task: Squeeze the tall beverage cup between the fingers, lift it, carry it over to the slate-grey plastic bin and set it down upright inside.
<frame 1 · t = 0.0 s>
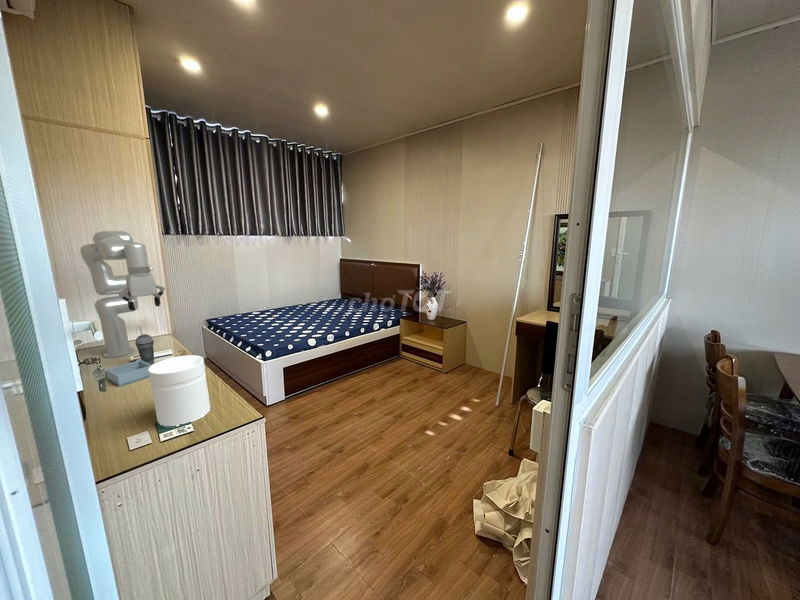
hand: (145, 308, 146), 31 cm above the cabinet, fingers open, 9 cm apart
beverage cup: (148, 364, 161), on the cabinet
canister: (185, 415, 115), on the cabinet
bin: (131, 377, 146), on the cabinet
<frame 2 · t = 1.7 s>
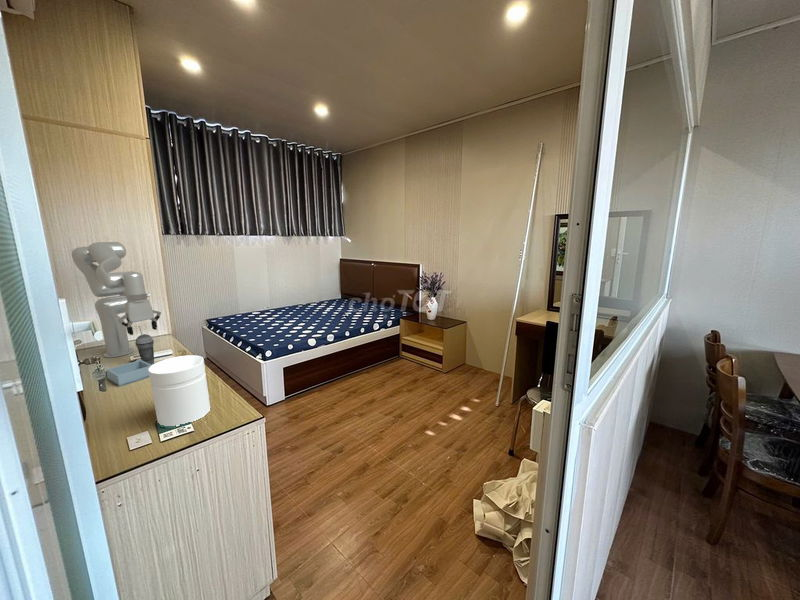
hand: (143, 331, 157), 17 cm above the cabinet, fingers open, 9 cm apart
nothing on the cabinet moved.
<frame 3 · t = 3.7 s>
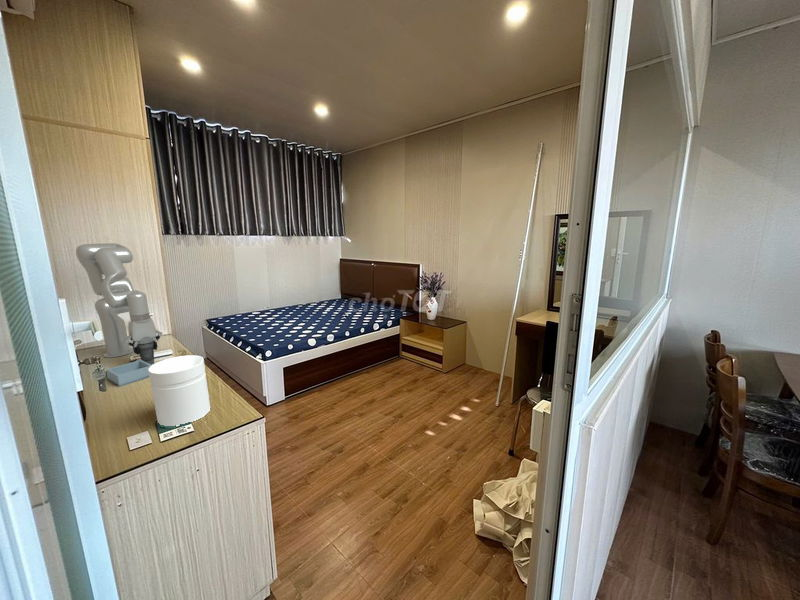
hand: (146, 351, 160), 7 cm above the cabinet, fingers closed on beverage cup, 6 cm apart
beverage cup: (148, 364, 161), on the cabinet, touching gripper
everything else where it was.
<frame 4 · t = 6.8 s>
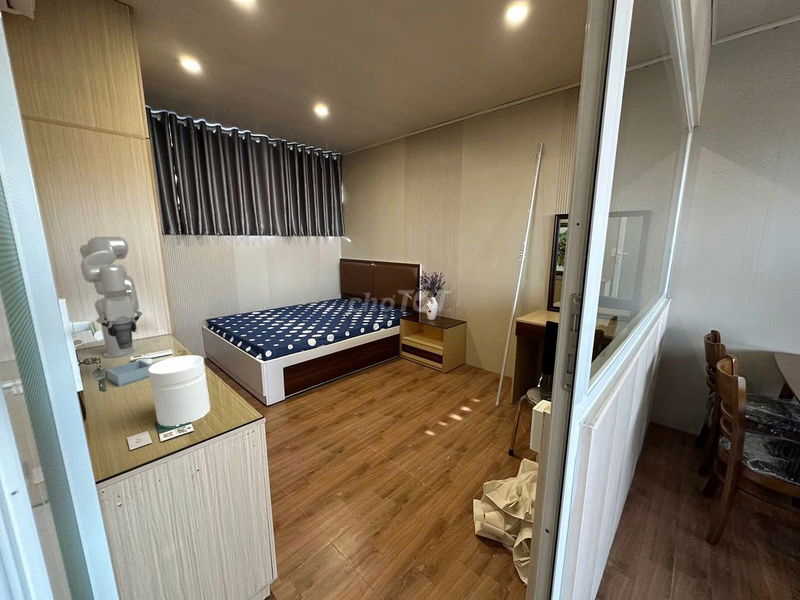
hand: (123, 333, 141), 21 cm above the cabinet, fingers closed on beverage cup, 6 cm apart
beverage cup: (126, 348, 143), point 14 cm above the cabinet, touching gripper
everything else where it was.
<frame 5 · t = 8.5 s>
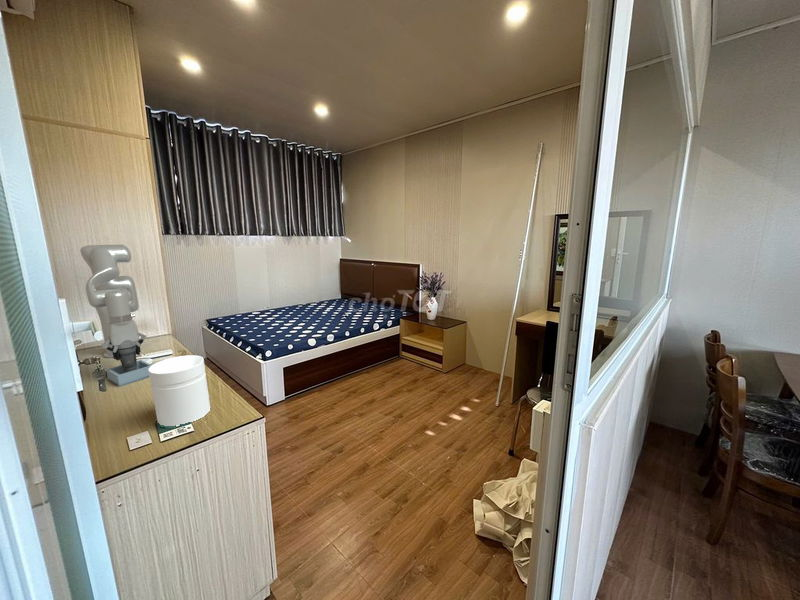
hand: (127, 356, 144), 10 cm above the cabinet, fingers closed on beverage cup, 6 cm apart
beverage cup: (130, 371, 145), point 3 cm above the cabinet, touching gripper
everything else where it was.
when the fingers open (8 cm above the cabinet, at t = 10.0 s): beverage cup stays where it is, resting on bin.
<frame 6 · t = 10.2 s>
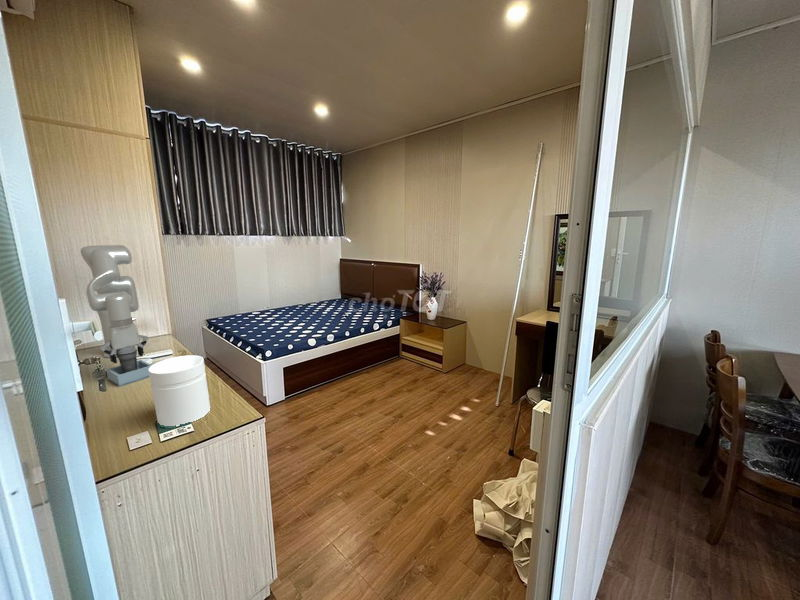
hand: (128, 359, 144), 9 cm above the cabinet, fingers open, 9 cm apart
beverage cup: (131, 376, 146), point 1 cm above the cabinet, touching bin
everything else where it was.
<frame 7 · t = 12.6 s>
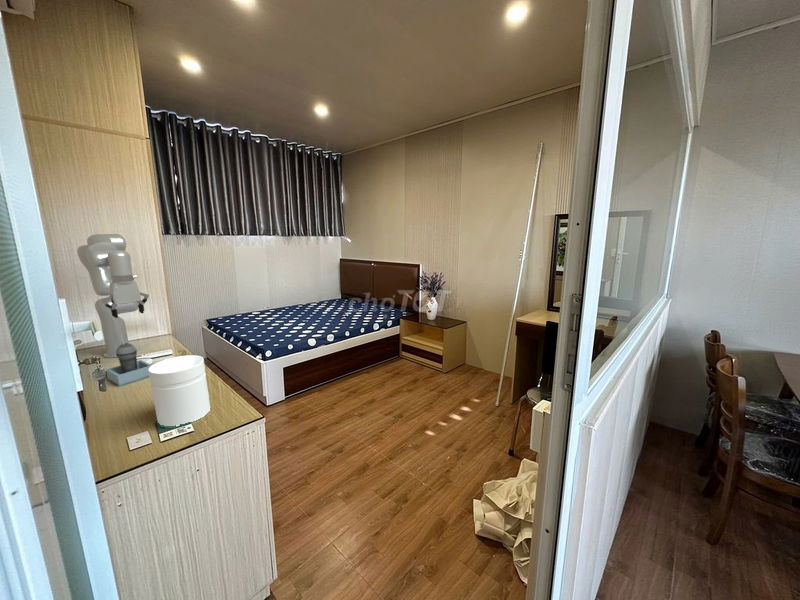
hand: (129, 315, 149), 28 cm above the cabinet, fingers open, 9 cm apart
nothing on the cabinet moved.
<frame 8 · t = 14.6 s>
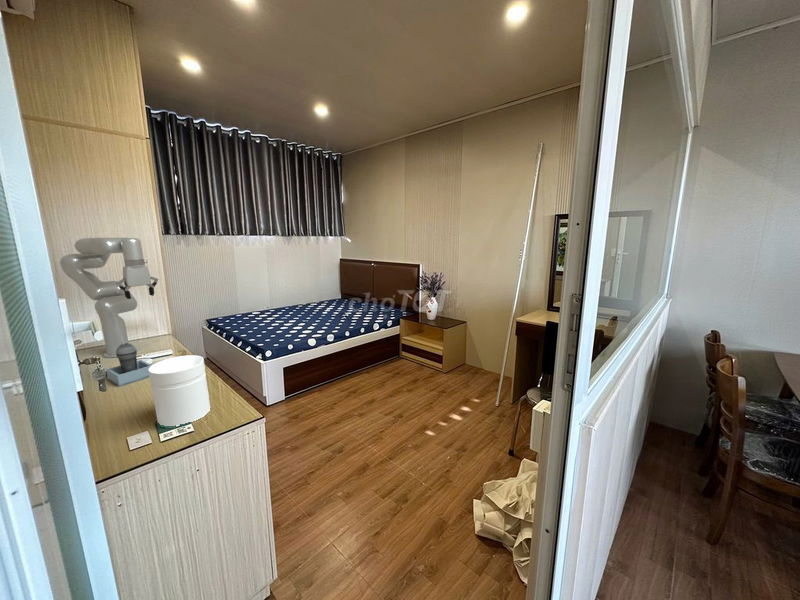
hand: (140, 297, 161), 33 cm above the cabinet, fingers open, 9 cm apart
nothing on the cabinet moved.
at the end: beverage cup inside the target area on the bin (0.1 cm from its centre), point 0.6 cm above the bin's base; beverage cup tilted 0°; the gripper is holding nothing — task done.
